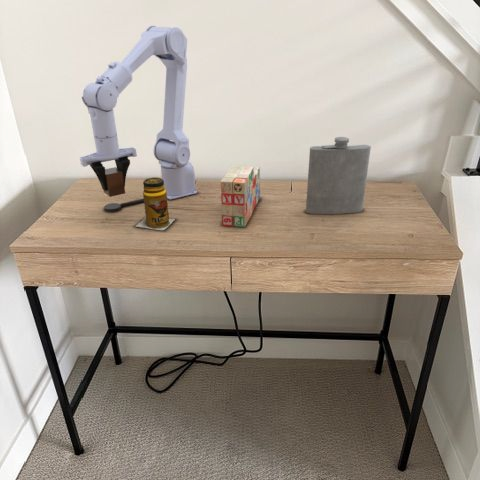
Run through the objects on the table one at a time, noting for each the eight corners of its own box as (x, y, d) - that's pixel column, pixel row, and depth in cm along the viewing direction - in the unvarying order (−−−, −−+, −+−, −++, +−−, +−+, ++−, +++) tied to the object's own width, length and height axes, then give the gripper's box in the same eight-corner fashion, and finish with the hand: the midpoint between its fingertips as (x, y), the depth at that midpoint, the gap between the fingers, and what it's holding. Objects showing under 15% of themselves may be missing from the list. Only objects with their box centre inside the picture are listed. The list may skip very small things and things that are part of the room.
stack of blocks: (239, 196, 152) (239, 155, 145) (260, 198, 150) (260, 156, 143) (221, 225, 134) (220, 180, 127) (244, 227, 133) (244, 182, 126)
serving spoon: (152, 196, 152) (151, 193, 152) (158, 201, 149) (158, 198, 149) (102, 208, 145) (101, 205, 145) (108, 213, 142) (107, 210, 142)
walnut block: (125, 193, 136) (122, 171, 132) (109, 197, 134) (106, 174, 130) (119, 188, 139) (115, 167, 135) (103, 192, 137) (99, 170, 133)
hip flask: (360, 207, 144) (370, 134, 132) (364, 213, 140) (374, 139, 129) (304, 209, 143) (309, 136, 131) (307, 215, 140) (312, 140, 128)
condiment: (164, 230, 132) (159, 186, 125) (135, 227, 134) (128, 183, 128) (175, 220, 138) (171, 176, 131) (147, 216, 140) (141, 173, 133)
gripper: (126, 127, 134) (133, 178, 141) (72, 136, 127) (82, 189, 135) (137, 133, 129) (143, 185, 137) (81, 143, 122) (91, 197, 130)
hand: (113, 187), depth 135 cm, fingers closed on walnut block, 4 cm apart
